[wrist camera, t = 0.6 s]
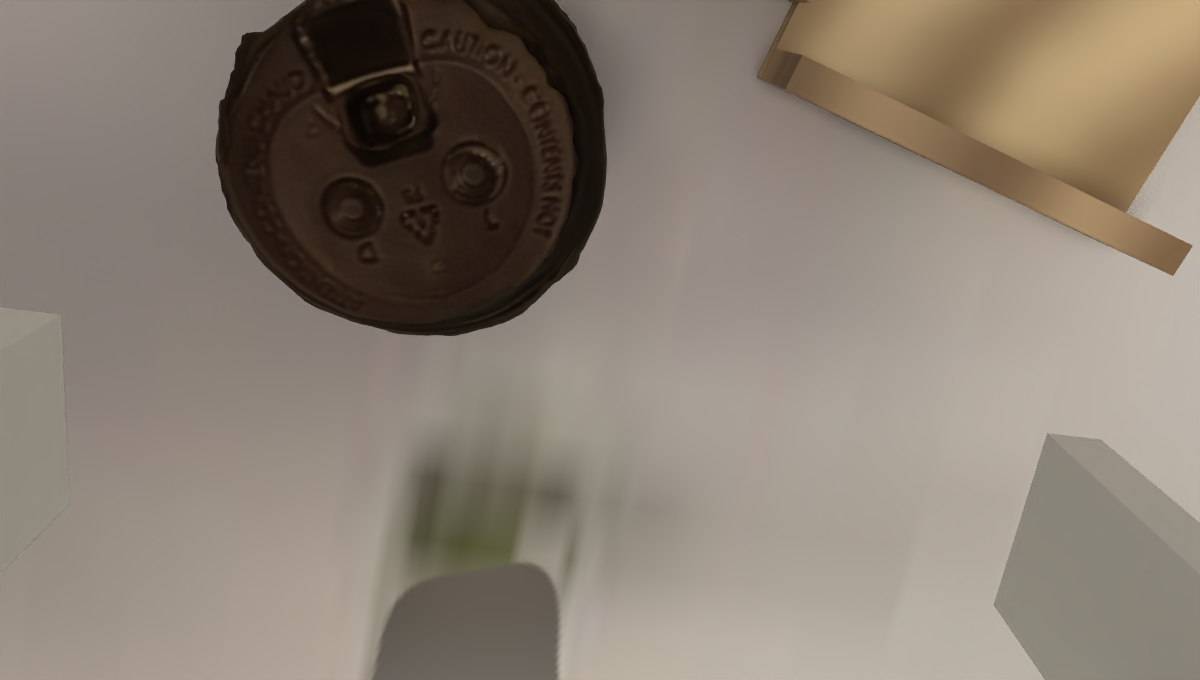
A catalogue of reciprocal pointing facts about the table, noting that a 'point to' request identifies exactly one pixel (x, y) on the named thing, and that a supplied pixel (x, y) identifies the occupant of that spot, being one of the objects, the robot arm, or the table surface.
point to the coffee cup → (415, 157)
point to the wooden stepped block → (1012, 95)
